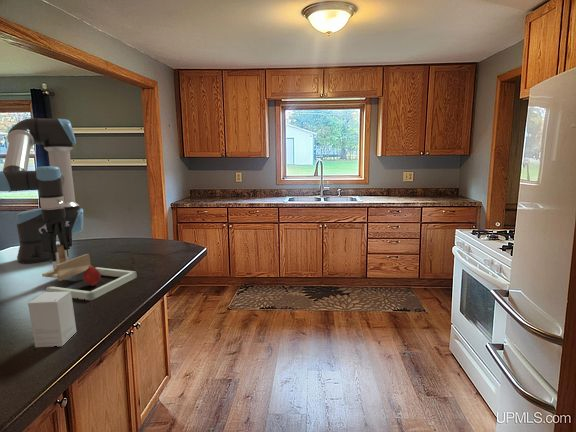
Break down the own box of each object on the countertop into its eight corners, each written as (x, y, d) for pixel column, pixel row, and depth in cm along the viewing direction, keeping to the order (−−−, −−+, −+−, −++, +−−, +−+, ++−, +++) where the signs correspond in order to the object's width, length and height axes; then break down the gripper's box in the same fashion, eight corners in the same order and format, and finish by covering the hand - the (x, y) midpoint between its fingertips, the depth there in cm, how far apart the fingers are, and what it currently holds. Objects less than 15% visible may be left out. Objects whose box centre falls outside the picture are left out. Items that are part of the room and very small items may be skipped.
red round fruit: (88, 282, 140) (86, 263, 138) (104, 282, 140) (102, 262, 139) (81, 288, 134) (78, 268, 133) (97, 288, 134) (95, 267, 133)
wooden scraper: (37, 278, 136) (32, 250, 134) (69, 266, 149) (65, 240, 147) (60, 280, 133) (56, 251, 130) (91, 268, 146) (87, 241, 144)
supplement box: (77, 332, 102) (72, 290, 100) (62, 347, 95) (56, 302, 92) (50, 333, 102) (45, 291, 99) (33, 347, 95) (26, 302, 92)
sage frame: (47, 294, 129) (46, 287, 129) (97, 273, 151) (96, 267, 150) (91, 300, 124) (90, 293, 123) (136, 277, 145) (136, 271, 145)
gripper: (41, 212, 128) (49, 275, 132) (78, 204, 143) (85, 261, 147) (24, 211, 130) (34, 273, 134) (63, 203, 145) (70, 260, 149)
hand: (61, 267), depth 141 cm, fingers closed on wooden scraper, 3 cm apart
